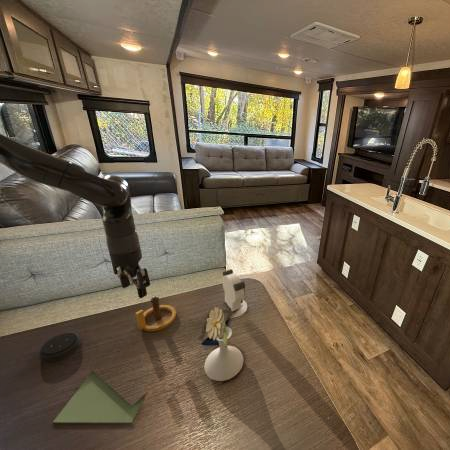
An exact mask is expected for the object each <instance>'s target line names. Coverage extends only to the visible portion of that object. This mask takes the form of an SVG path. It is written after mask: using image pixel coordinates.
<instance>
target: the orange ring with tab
mask: <svg viewBox="0 0 450 450" xmlns="http://www.w3.org/2000/svg"><path fill="white" fill-rule="evenodd" d="M159 306H160V310H165V311H166V310H167V311H169V313H171V314H172V316H171V318H170V319H169V320H168V321H166V322H165V323H163V324H160V325H157V326H149V325H148V324H147V323H146V318H147V316H149V315H151V314H152V313H154V311H153V306H152V307H150V308H149V309H146V310H145V311H144V310H143V309H140V310H138V311H136V312H135V313H134V315H135V318H136V322H137V328H138V330H140V331H142V330H143V331H145V332H158V331H160V330H163V329H165V328H167V327H169V326H170V325H172V324H173V323H174V321H175V320H176V318H177V312H176V308H175V307H173V306H171V304H159Z"/></svg>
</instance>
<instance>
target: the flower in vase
mask: <svg viewBox="0 0 450 450" xmlns="http://www.w3.org/2000/svg"><path fill="white" fill-rule="evenodd" d="M225 322H226V320H225V315H224V311H223V310H222V308H219V307H214V309H211V310H210V312H209V318H207V319H206V327H205V328H206V329H205V333H207V338H208V337H209V338H210V339H211V338H212V336H213V340H215V339H216V340H218V342H219V345H218V346H219V347H217V348H214V350H212V351H211V352H210V353H209V354H208V356H207V357H206V359H205V362H204V372H205V374H206V376H207V377H208V378H209V379H211V380H213V381H217V382H225V381H228V380H231V379H232V378H234V377H235V376H236V375H237V374H239V372H240V371H241V370H242V368H243V366H244V355H243V353H242V352H241V350H240V349H239V348H237V347H235V346H234V345H228V343H229V339H230V338H231V337H232V334H233V330H232V328H230V327H229V326H228V327H226V324H225Z"/></svg>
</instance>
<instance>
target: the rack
mask: <svg viewBox="0 0 450 450" xmlns="http://www.w3.org/2000/svg"><path fill="white" fill-rule="evenodd" d="M150 303H151V305H152V307H153V315H154V316H153V317H154V320H155V321H154V322H152V323H151V324H149V325H148V326H157V325H160V324H163V323H165V322H166V321H168V320H169V319H170V318H171V316H172V312H167V313H166V314H164V315H162V313H161V309H160V306H159V305H160V297H159V296H157V295H155V296H152V297H151V298H150Z"/></svg>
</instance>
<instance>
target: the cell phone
mask: <svg viewBox="0 0 450 450" xmlns="http://www.w3.org/2000/svg"><path fill="white" fill-rule="evenodd" d="M230 319H231V318H230V317H229V318H227V320H225V324H226V327H229V322H230ZM200 345H202V346H219V342H218V340H216V339H215V340H213V336H212V338H211V339H210V338H209V337H208V336H207V338H205V339H204V340H203V341H201V343H200Z"/></svg>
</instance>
